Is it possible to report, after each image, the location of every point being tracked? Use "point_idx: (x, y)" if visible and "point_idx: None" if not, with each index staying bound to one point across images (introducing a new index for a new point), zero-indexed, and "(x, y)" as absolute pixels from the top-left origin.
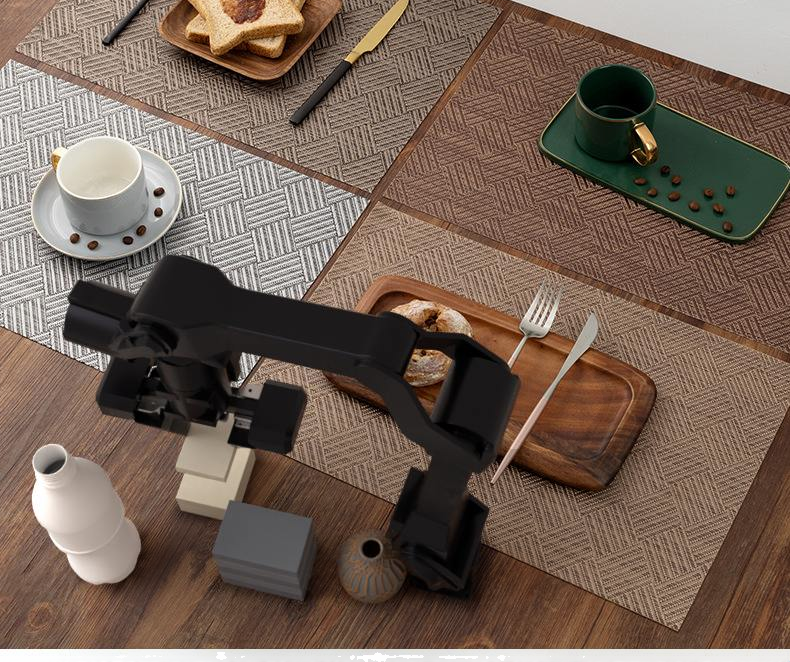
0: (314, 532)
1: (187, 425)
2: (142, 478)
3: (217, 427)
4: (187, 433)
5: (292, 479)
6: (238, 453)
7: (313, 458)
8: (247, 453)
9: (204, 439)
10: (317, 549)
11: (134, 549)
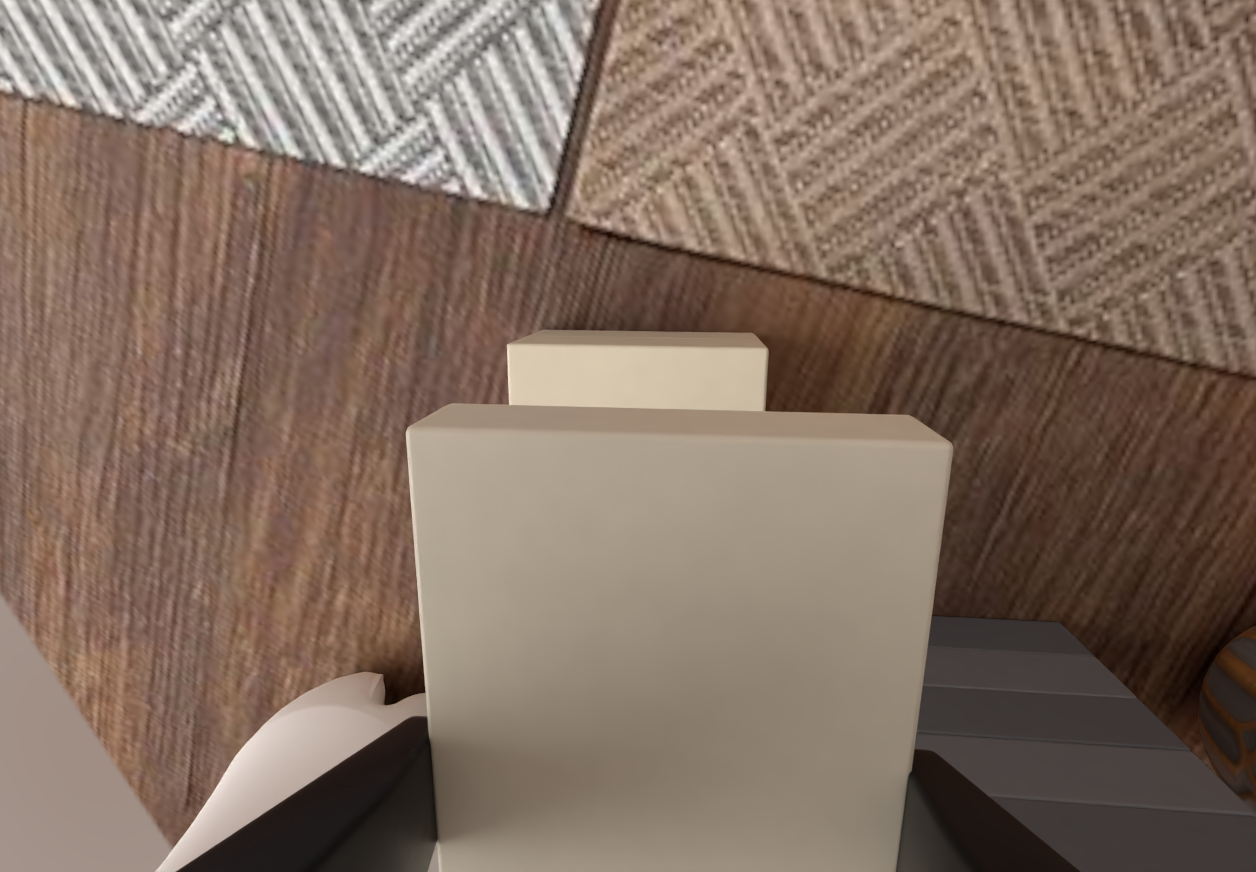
0: (1188, 750)
1: (394, 856)
2: (377, 490)
3: (680, 732)
4: (434, 820)
5: (919, 386)
6: (714, 403)
7: (992, 279)
8: (756, 395)
9: (599, 845)
10: (1065, 628)
11: None
